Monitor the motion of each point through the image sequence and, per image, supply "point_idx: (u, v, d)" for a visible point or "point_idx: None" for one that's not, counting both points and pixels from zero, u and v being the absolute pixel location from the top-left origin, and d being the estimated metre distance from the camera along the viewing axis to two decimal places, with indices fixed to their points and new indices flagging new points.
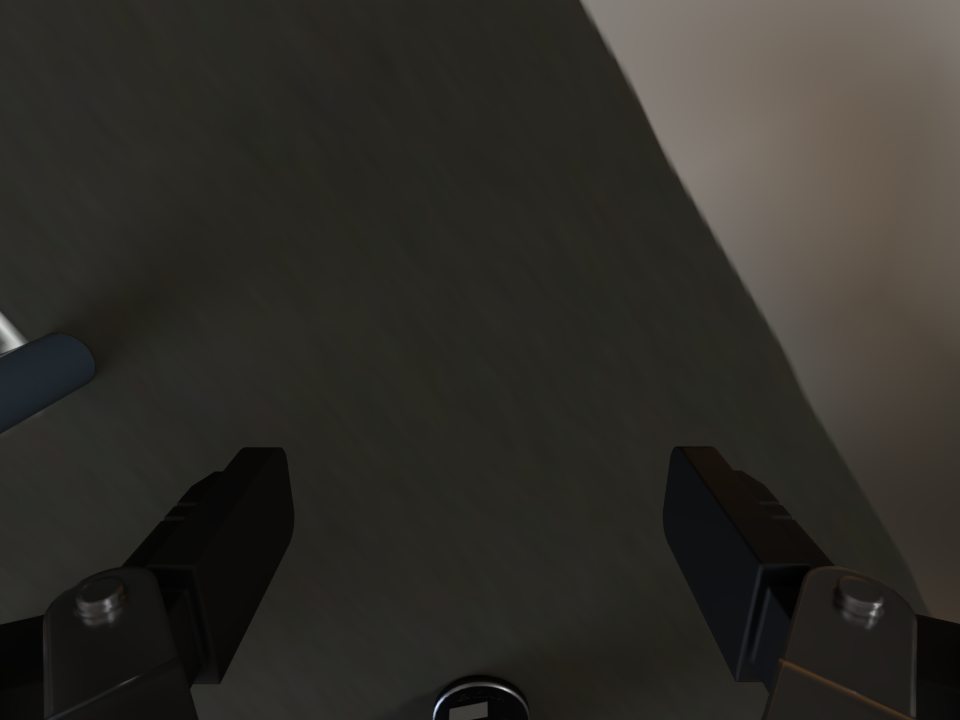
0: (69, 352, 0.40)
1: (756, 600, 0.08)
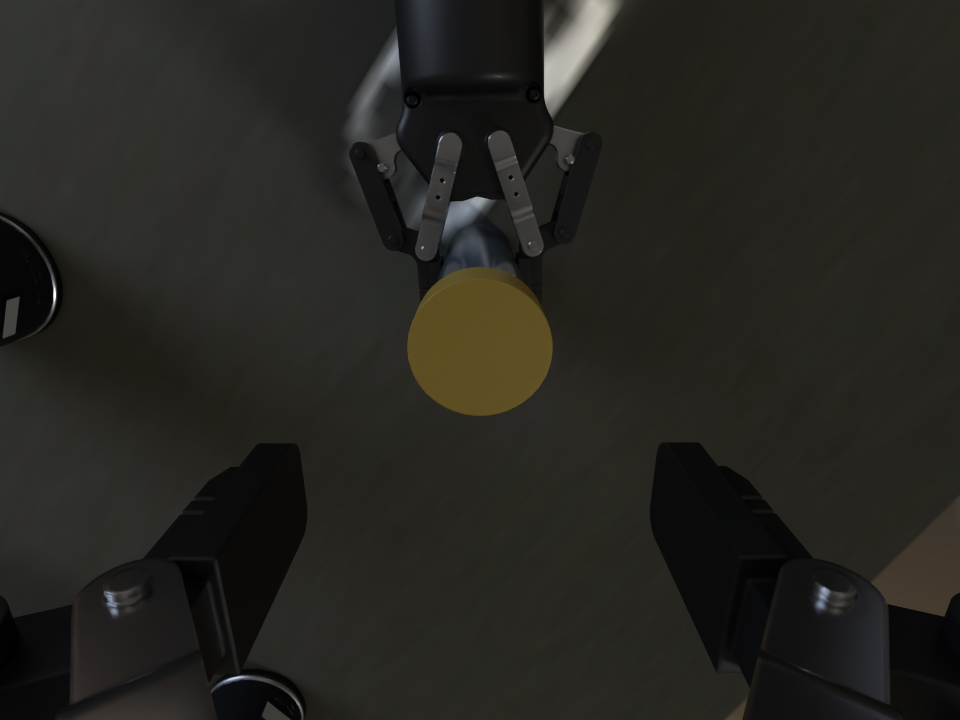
0: None
1: (735, 592, 0.08)
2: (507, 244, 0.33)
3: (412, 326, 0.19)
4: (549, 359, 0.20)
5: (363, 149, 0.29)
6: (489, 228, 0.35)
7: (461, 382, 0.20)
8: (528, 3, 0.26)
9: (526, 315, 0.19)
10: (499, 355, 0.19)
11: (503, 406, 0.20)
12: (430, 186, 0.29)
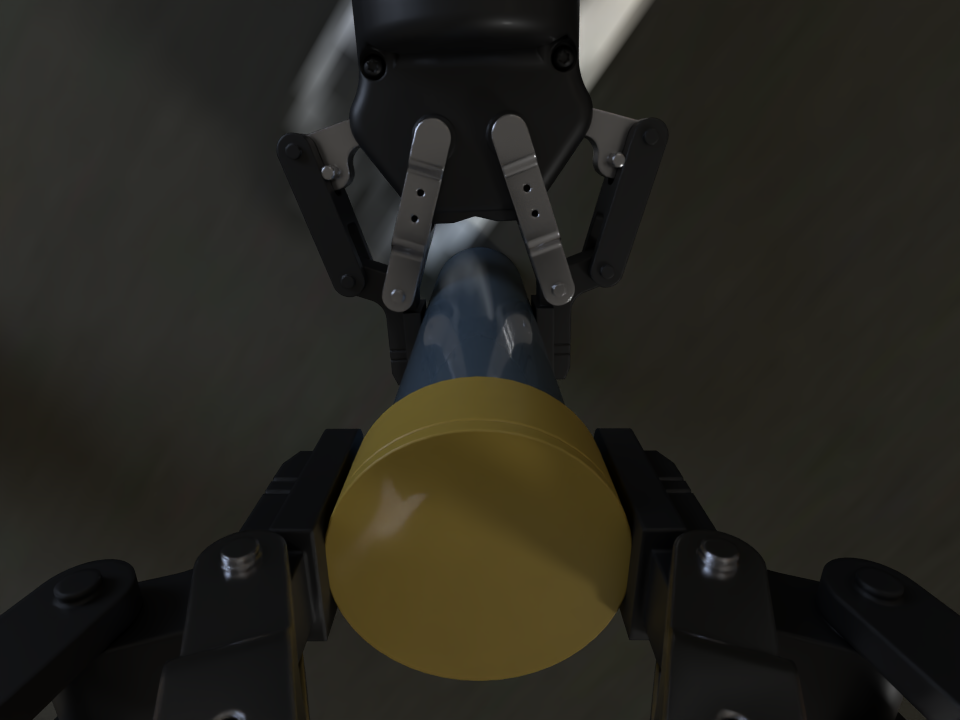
0: None
1: (641, 563, 0.09)
2: (519, 283, 0.23)
3: (331, 523, 0.09)
4: (625, 584, 0.09)
5: (298, 144, 0.19)
6: (492, 257, 0.25)
7: (440, 624, 0.10)
8: None
9: (580, 502, 0.09)
10: (520, 577, 0.09)
11: (526, 665, 0.10)
12: (402, 201, 0.19)
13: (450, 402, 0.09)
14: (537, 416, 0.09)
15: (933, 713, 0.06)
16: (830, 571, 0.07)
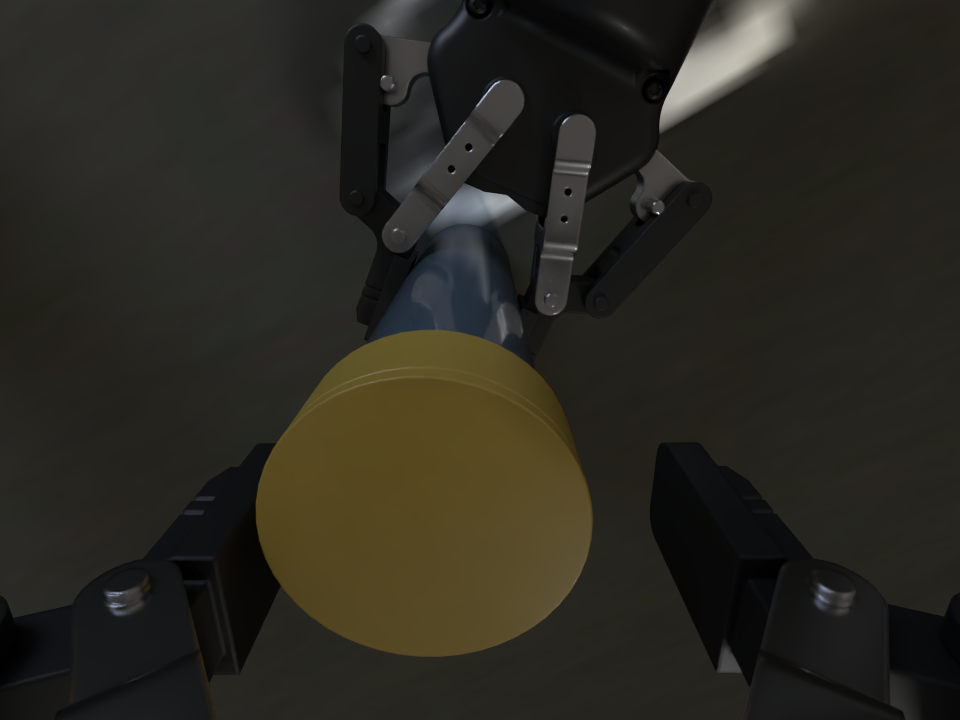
0: None
1: (735, 592, 0.08)
2: None
3: (277, 576, 0.09)
4: (566, 455, 0.08)
5: (370, 40, 0.17)
6: (495, 243, 0.25)
7: (445, 601, 0.09)
8: None
9: (446, 412, 0.08)
10: (467, 515, 0.08)
11: (557, 588, 0.09)
12: (447, 147, 0.18)
13: (303, 406, 0.09)
14: (372, 363, 0.08)
15: None
16: None
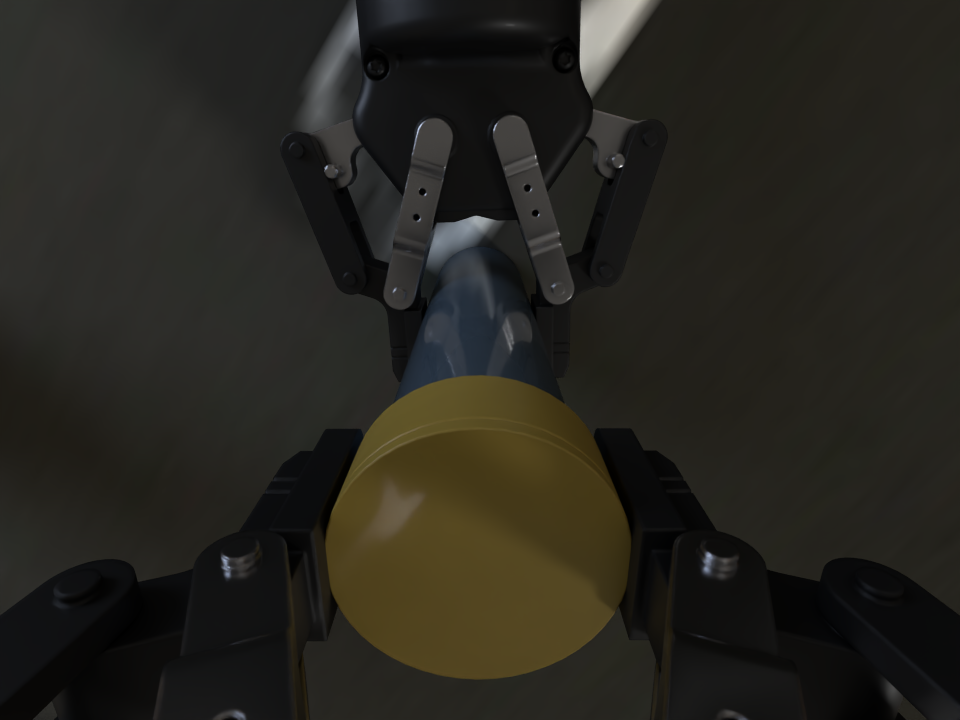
0: None
1: (641, 562, 0.09)
2: (519, 282, 0.23)
3: (378, 647, 0.10)
4: (564, 455, 0.08)
5: (301, 143, 0.19)
6: (493, 256, 0.25)
7: (526, 618, 0.10)
8: None
9: (445, 461, 0.08)
10: (507, 538, 0.09)
11: (618, 571, 0.09)
12: (404, 200, 0.19)
13: None
14: (375, 441, 0.09)
15: (932, 712, 0.06)
16: (830, 571, 0.07)
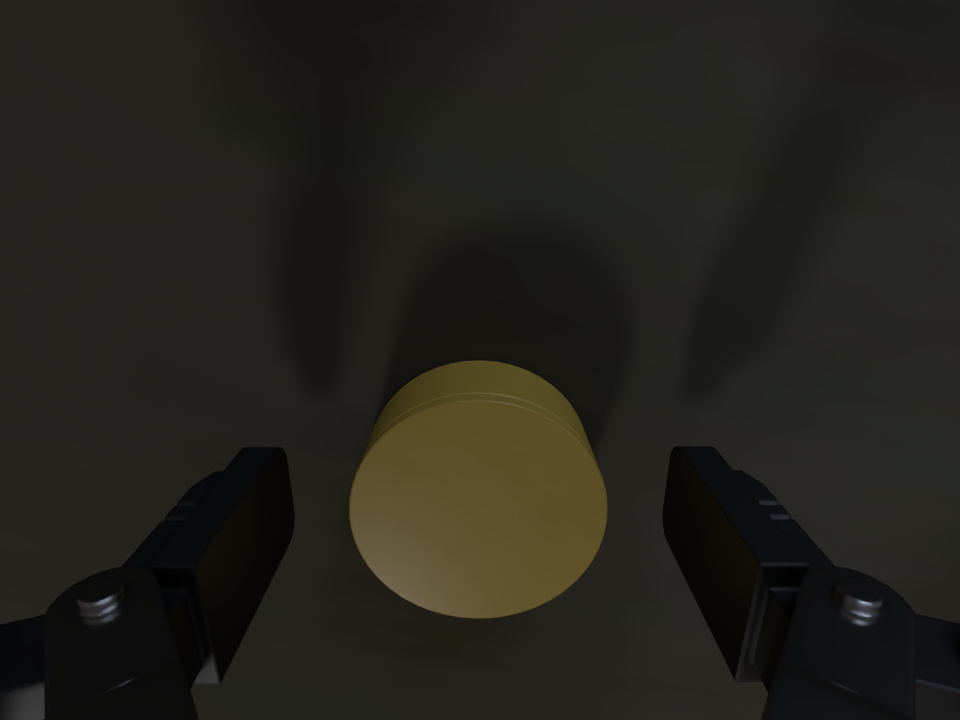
0: None
1: (755, 600, 0.08)
2: None
3: (392, 589, 0.11)
4: (550, 423, 0.10)
5: None
6: None
7: (518, 564, 0.11)
8: None
9: (451, 428, 0.10)
10: (502, 495, 0.11)
11: (595, 524, 0.11)
12: None
13: None
14: (392, 413, 0.11)
15: None
16: None
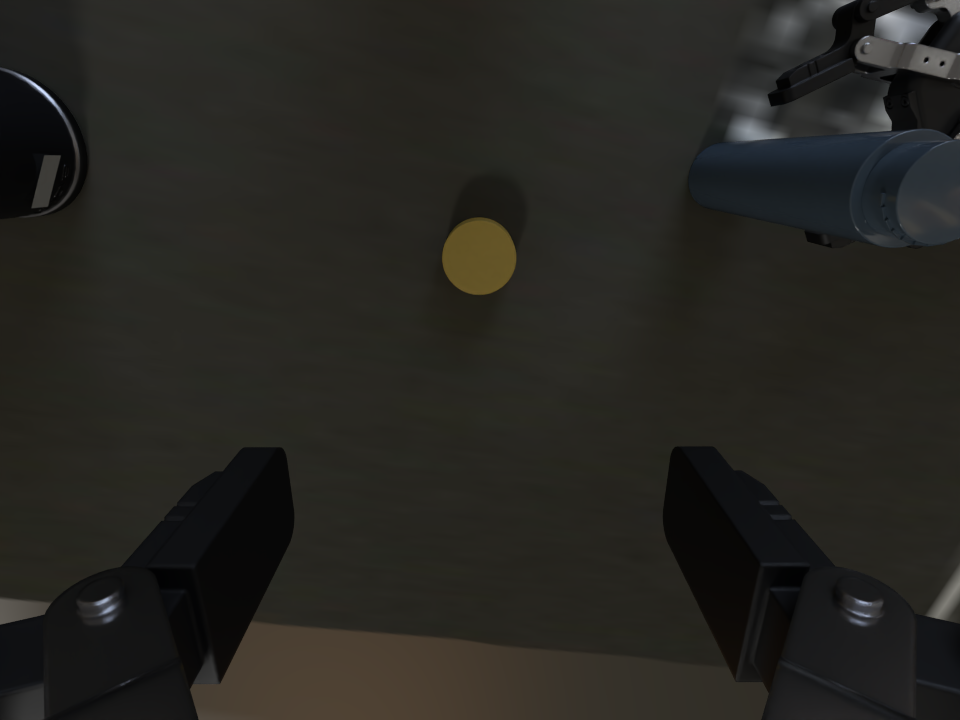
0: None
1: (756, 600, 0.08)
2: None
3: (453, 283, 0.39)
4: (498, 227, 0.37)
5: None
6: None
7: (491, 274, 0.38)
8: None
9: (471, 229, 0.37)
10: (486, 250, 0.38)
11: (512, 260, 0.38)
12: (931, 66, 0.29)
13: None
14: (454, 229, 0.38)
15: None
16: None
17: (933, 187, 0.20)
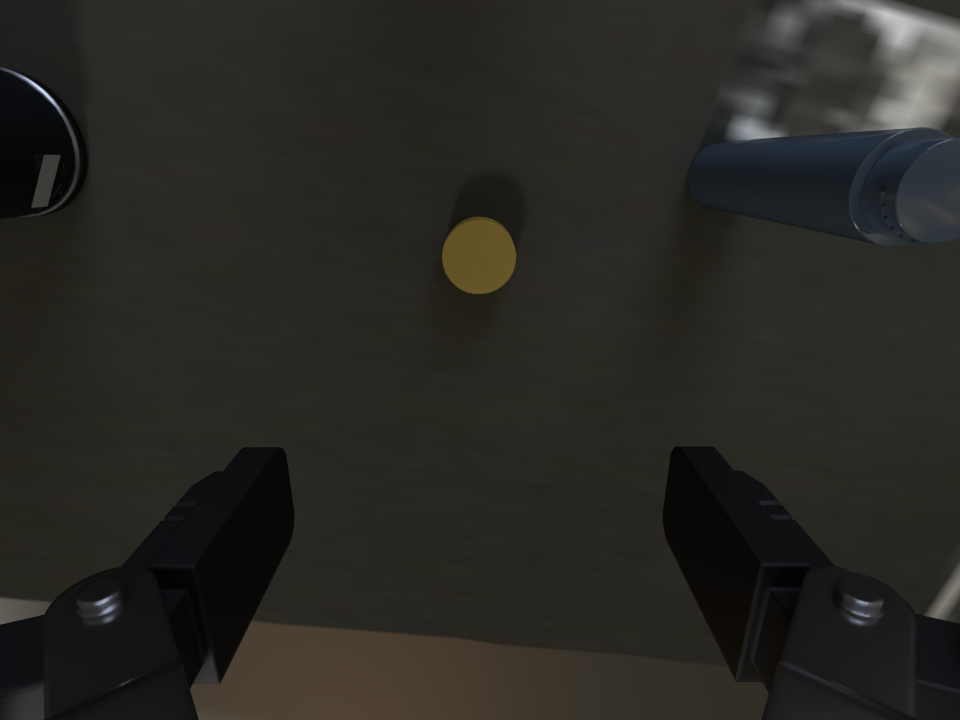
0: None
1: (756, 600, 0.08)
2: None
3: (453, 283, 0.39)
4: (498, 226, 0.37)
5: None
6: None
7: (491, 273, 0.38)
8: None
9: (471, 228, 0.37)
10: (485, 249, 0.38)
11: (512, 259, 0.38)
12: None
13: None
14: (454, 228, 0.38)
15: None
16: None
17: (932, 186, 0.20)
